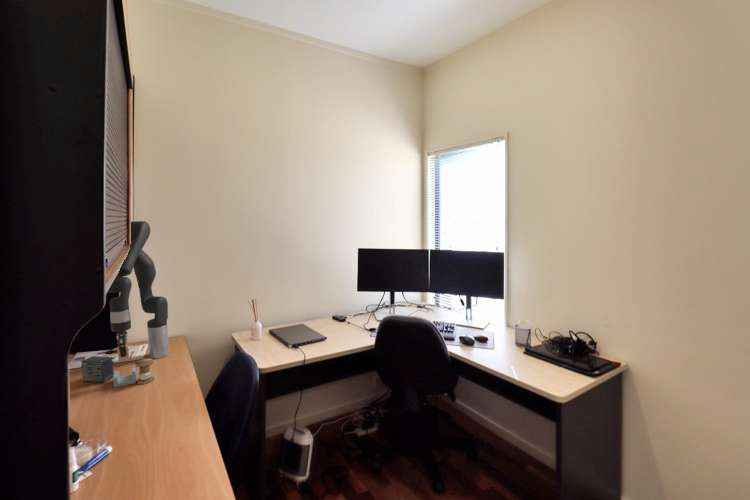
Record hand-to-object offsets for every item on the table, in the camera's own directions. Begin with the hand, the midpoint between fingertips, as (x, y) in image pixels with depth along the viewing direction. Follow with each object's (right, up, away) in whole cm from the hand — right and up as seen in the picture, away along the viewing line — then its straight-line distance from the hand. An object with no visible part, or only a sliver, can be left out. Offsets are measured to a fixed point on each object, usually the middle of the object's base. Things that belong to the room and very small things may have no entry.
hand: (123, 355), depth 167 cm
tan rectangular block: (0, -2, 0) cm, 2 cm away
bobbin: (+9, -13, +2) cm, 16 cm away
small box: (-14, -13, +4) cm, 20 cm away
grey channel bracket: (0, -13, +2) cm, 13 cm away
